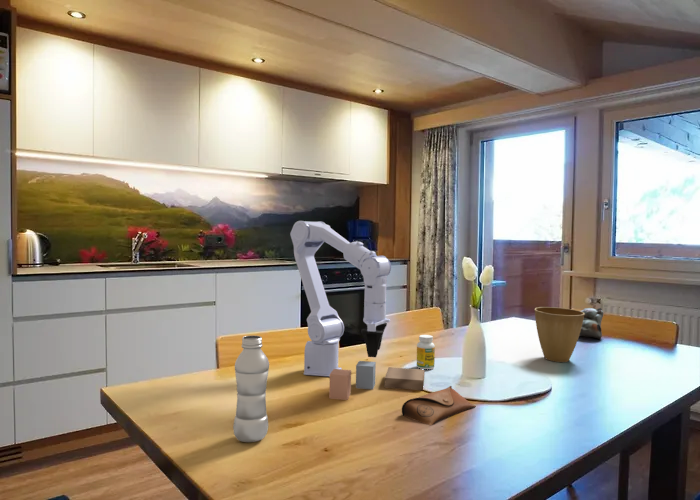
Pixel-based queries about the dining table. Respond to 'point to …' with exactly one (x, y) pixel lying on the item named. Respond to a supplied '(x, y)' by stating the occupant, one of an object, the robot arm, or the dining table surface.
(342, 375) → the terracotta block
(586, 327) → the lucky cat figurine
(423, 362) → the supplement bottle
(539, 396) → the dining table surface
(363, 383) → the slate block
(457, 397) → the sunglasses case
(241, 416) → the plastic bottle
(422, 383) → the walnut base
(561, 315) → the plant pot
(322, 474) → the dining table surface
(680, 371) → the dining table surface
